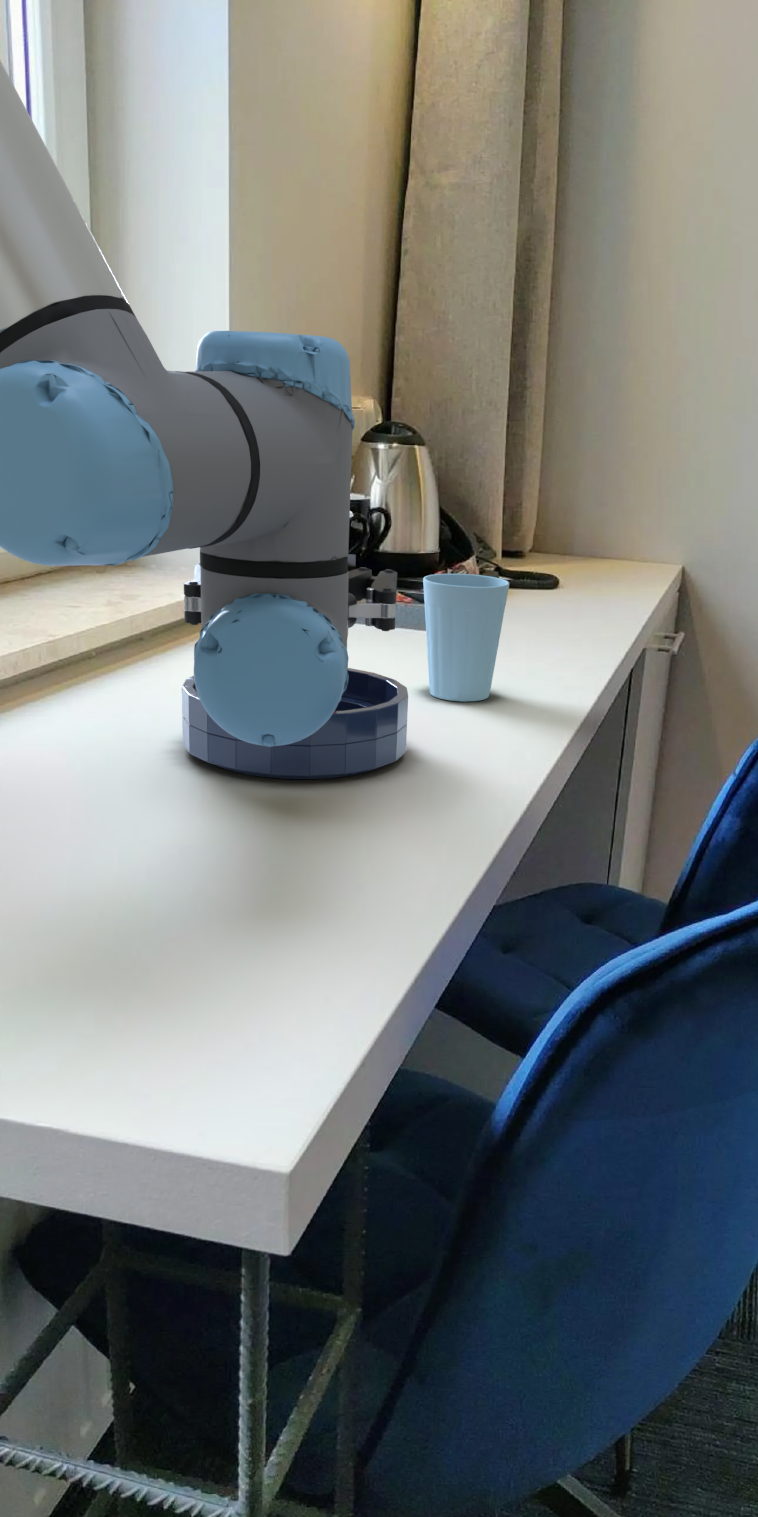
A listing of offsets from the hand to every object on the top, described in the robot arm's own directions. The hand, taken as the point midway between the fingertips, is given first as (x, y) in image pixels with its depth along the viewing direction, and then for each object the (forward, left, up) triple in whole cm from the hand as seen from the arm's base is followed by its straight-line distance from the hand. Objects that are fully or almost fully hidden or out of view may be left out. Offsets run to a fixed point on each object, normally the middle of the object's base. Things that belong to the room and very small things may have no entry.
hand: (301, 570), depth 98 cm
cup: (+14, +16, -13) cm, 25 cm away
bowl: (0, -5, -13) cm, 14 cm away
